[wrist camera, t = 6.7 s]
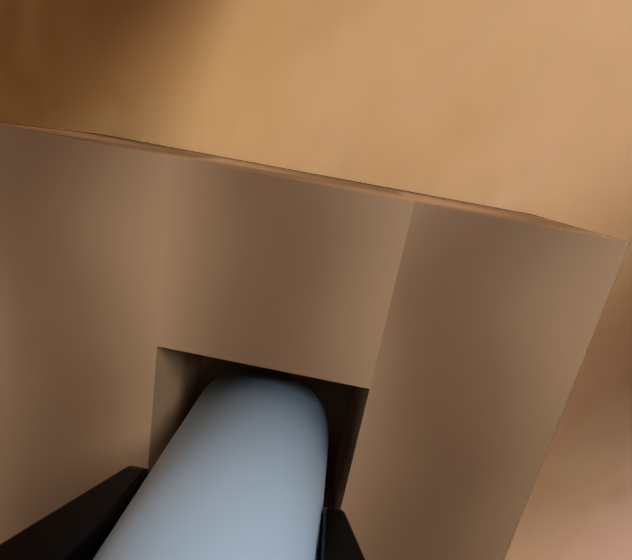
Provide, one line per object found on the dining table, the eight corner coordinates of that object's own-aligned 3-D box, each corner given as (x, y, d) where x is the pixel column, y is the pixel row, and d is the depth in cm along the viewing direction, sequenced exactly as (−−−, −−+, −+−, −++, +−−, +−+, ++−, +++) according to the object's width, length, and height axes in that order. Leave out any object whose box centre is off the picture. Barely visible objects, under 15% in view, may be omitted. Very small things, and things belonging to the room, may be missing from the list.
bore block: (531, 214, 12) (629, 242, 8) (422, 553, 16) (448, 700, 12) (101, 134, 13) (-30, 119, 8) (90, 483, 16) (-4, 599, 12)
